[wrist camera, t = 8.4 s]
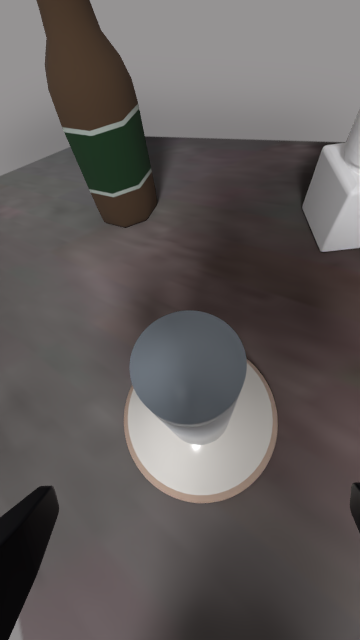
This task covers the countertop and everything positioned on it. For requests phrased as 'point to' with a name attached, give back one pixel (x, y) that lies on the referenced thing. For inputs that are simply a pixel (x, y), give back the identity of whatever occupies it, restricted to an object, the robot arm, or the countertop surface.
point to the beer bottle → (98, 111)
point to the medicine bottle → (336, 195)
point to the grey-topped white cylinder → (189, 373)
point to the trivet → (206, 447)
